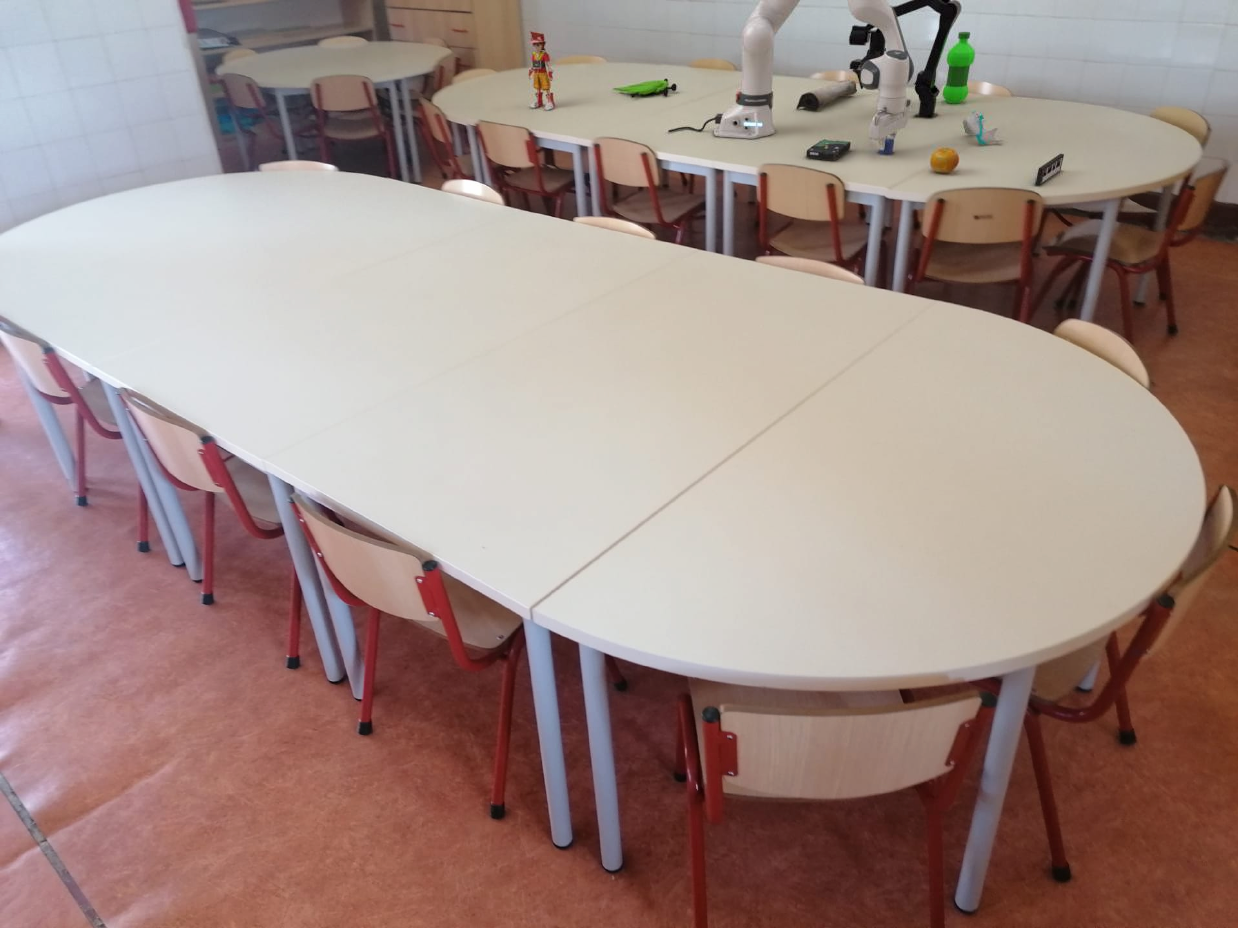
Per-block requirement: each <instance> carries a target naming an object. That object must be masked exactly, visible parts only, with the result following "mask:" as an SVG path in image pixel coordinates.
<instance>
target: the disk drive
mask: <svg viewBox="0 0 1238 928" xmlns="http://www.w3.org/2000/svg"><path fill="white" fill-rule="evenodd" d="M850 149H851V141H846V140H837V139H836V140H832V139H826V138H825V139H822V140H819V141H818V142H816V143H815V144H814V145H812V146H810V147H809V148H807V149H806V152H805V153H806V156H805V157H806V158H808V159H815V160H825V161H836V160H838V158H840V157H842V156H843V155H844V154H846V153H847V152H848V151H849V150H850Z"/></svg>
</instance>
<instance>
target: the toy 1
mask: <svg viewBox="0 0 1238 928" xmlns="http://www.w3.org/2000/svg"><path fill="white" fill-rule="evenodd" d="M529 33H530V35H531V36H528V37H527V38H528V39H529V40H528V41H527V43H529V44H530V43H531V44H532V48H533V50H534V51H533V52H532V55H531V58H530V59H531V63H530V66H528V74H527V75H528V76H527V77H528V79H529V80H531V75H532V74H533V84H532V85H533V86H532V87H533V88H534V89H535V90H536V92H534V95H535V97H536V100H535V101H533V102H531V105H530V108H531V109H535V108H538V107H542V106H544V101H543V100H544V99H543V95H544V92H546V94H545V97H546V99H547V103H546V104H545V106H544V110H546V111H549V110H553V109H554V107H555V106H556V105H555V99H554V92H551V91H550V90H551V86H552V84H551V82H552V81H553V80H554V77H553V73H554V71H555V70H554V69H552V68H551V63H550V61H551V59H550V58H551V57H550V54H549V53H548V52H547V50H546V48H545V46H546V44H547V41H545V35H544V33H543V32H542V33H539V32H535V31H529Z"/></svg>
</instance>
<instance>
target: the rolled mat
mask: <svg viewBox="0 0 1238 928" xmlns="http://www.w3.org/2000/svg"><path fill="white" fill-rule="evenodd" d="M857 92H858V89H857V83H856V81H855V80H850V79H849V80H846V79H845V80H841V81H837V82H834V83H831V84H828V85H826V86H822V87H819V88H817V89H813V90H810V91H807V92H805V93H803V94H801V96H800V97H799V99H798V102H797V105H796V110H799V109H800V108H805V109H806V110H807V111H812V112H817V111H818V110H819V109H821V108H822V107H824V106H825V105H827V104H828V103H830V102H831V101H833V100H835V99H836V98H838V97H841V96H852V95H855V94H856V93H857Z"/></svg>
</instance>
